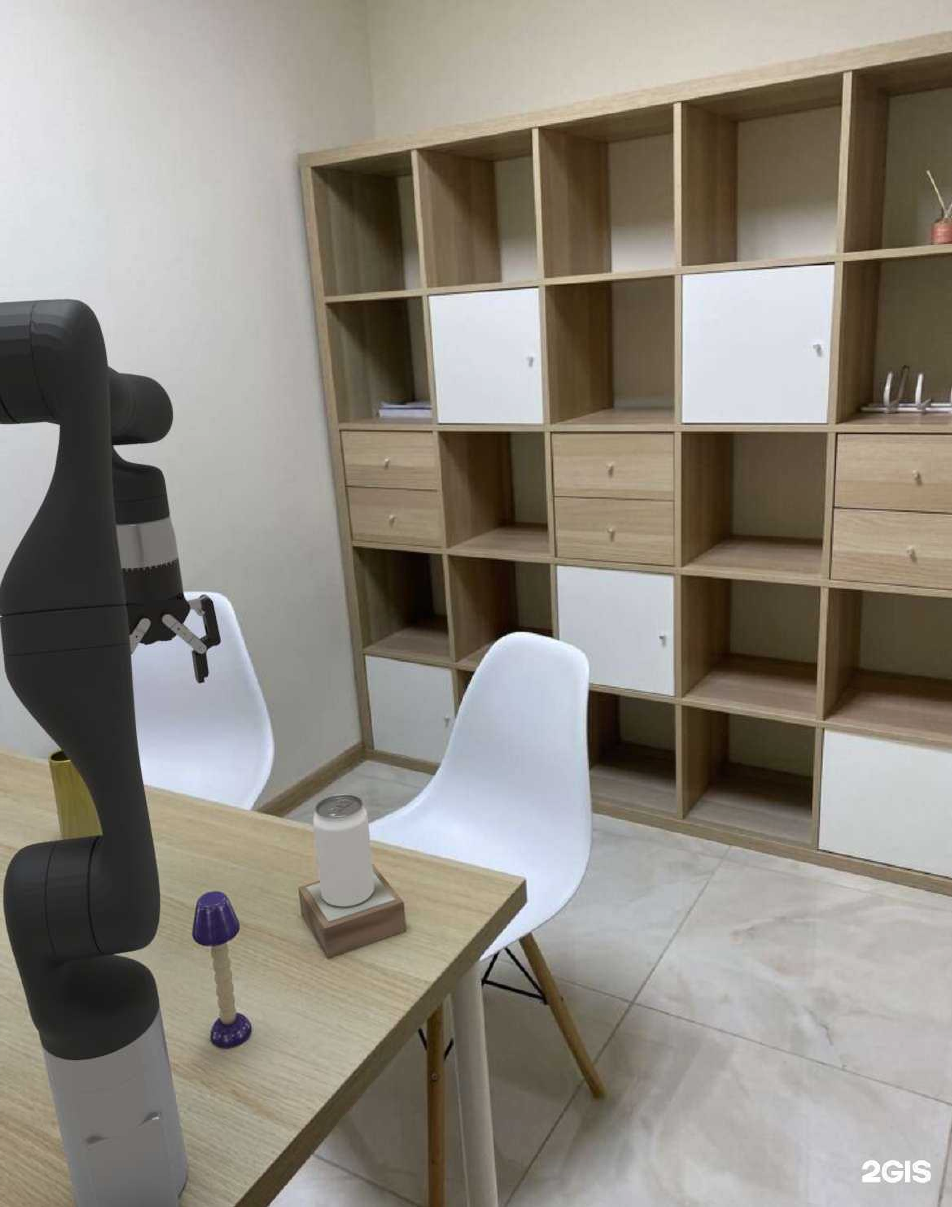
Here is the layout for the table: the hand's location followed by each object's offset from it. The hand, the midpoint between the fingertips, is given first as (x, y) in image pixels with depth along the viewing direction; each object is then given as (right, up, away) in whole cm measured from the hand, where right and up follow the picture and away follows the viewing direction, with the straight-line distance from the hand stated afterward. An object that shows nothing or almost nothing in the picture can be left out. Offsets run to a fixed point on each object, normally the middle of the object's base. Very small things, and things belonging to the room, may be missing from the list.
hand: (164, 688), depth 115 cm
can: (+22, -25, +2) cm, 34 cm away
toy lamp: (+12, -35, -15) cm, 40 cm away
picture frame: (+22, -29, +3) cm, 37 cm away
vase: (-20, -25, +26) cm, 42 cm away
